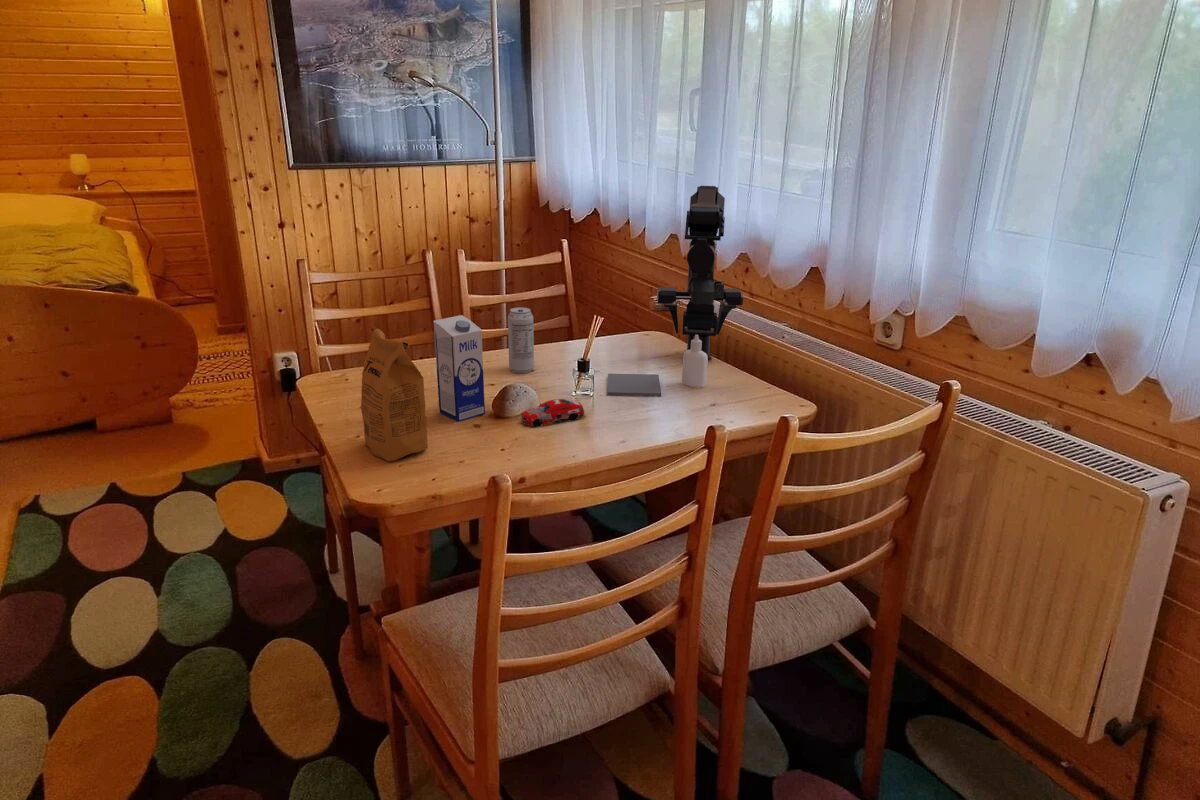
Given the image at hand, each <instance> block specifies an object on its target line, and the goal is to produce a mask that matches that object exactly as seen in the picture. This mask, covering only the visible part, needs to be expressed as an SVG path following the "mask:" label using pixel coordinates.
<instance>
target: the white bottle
mask: <svg viewBox="0 0 1200 800" xmlns="http://www.w3.org/2000/svg"><path fill="white" fill-rule="evenodd" d="M701 346H702V341H701V340H699V336H698V335H695V338H694V339H693V340H691V349H690V350H687V349H686V350H687V351H685V350H684V351H685V352H683V357H682V370H681V371H682V373H681V383H682V384H683V385H685V386H687V387H691V388H699V389H701V388H704V387H705V386H707V377H708V361H709V360H708V356H707V354H706V353H705V352H703V351H701Z"/></svg>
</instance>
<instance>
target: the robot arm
mask: <svg viewBox="0 0 1200 800" xmlns="http://www.w3.org/2000/svg"><path fill="white" fill-rule="evenodd" d="M689 198H690V199H689V200H690V201H689V210H686V220H685V230H684V240H690V242H689V244H688V245H689V249H688V252H687V255H686V261H687V264H688V266H687V268H688V269H687V283H686V284H687V285H686V286H687V287H686V291H685V290H682V291H680V290H677V289H676V287H675V286H659V287H658V288H657V289H656V300H657V303H658V304H662V305H663V307H664V308H668V310H669V313H670V315H671V316H670V317H671V319H672V323H673V327H674V330H675V334H678V333H679V321H678V319H679V318H678V317H679V316H678V303H677V300H681V301H682V300H686V301H688V300H689V301H688V303H687V304H686V308H685V309H686V310H683V315H682V333H681V334H682V336H684V335H685V336H686V335H687V342H686V343H687V344H686V350H684V352H685V351H687V350H690V349H691V340H693V339H694V338H695V335H698V336H699V340H701V341H702V346H701V351H703V352H705V353H706V354H707V356H708V361H711V360H712V359H713V358H712V356H711V352H710V342H711V341H710V340H711V337H716V336H718V335H719V334H720V332H721V330H722V327H723V325H724V323H725V320H726V318H727V316H728V315H729V313H730V312H731V311H732V310H736V309H737V308H738V307H737V306H743V305H744V294H743V293H742V291H741V290H740V289H739V288H729V287H728V288H726V287H725V281H723V280H714V278H715V277H714V276H715V266H716V265H715V264H716V250H717V249H716V248H717V247H716V246H717V243H716V241H717V242H718V241H719V242H720V241H721V239H722V237H724V235H725V222H726V221H725V220H726V217H725V216H724V213H725V201H726V198H725V197H724V196H723V195H722V194H721V193H720V192H719V187H718V186H716V185H699V186H697V189H696V192H694V193H693V194H692V195H691V196H690V197H689ZM717 234H718V235H717ZM715 301H717V302H718V301H720V303H719V309H718V312H715V305H714V303H715ZM684 352H683V353H684Z"/></svg>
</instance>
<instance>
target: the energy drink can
mask: <svg viewBox="0 0 1200 800" xmlns="http://www.w3.org/2000/svg"><path fill="white" fill-rule="evenodd" d="M531 310H532V309H531V308H529V307H521V306H519V307H513V308H510V309H509V311H510V312H509V313H508V316H507V339H508V341H507V342H508V367H509V369H510V370H511V372H513V373H515V374H528V373H531V372H532V371H533V369H534V367H535V347H534V344H535V343H534V340H535V336H534V315H533V314H532V311H531Z"/></svg>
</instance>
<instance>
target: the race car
mask: <svg viewBox="0 0 1200 800" xmlns="http://www.w3.org/2000/svg"><path fill="white" fill-rule="evenodd" d="M584 416H585V410H584V406H583V404H582V403H580V402H579V401H578V400H570V399H564V398H559V399H558V398H557V399H551V400H547V401H545V402H542V403H539V405H537V406H535V407H531V408H529V409H526V410H524V411H523V413H522V414H521V419H520V420H521V423H523V424H525V425H526V426H531V427H534V428H539V427H542V426H545V425H546V426H547V425H552V424H558V423H564V422H565V423H566V422H574V421H575V420H576V421H577V420H579V419H582V418H584Z"/></svg>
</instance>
